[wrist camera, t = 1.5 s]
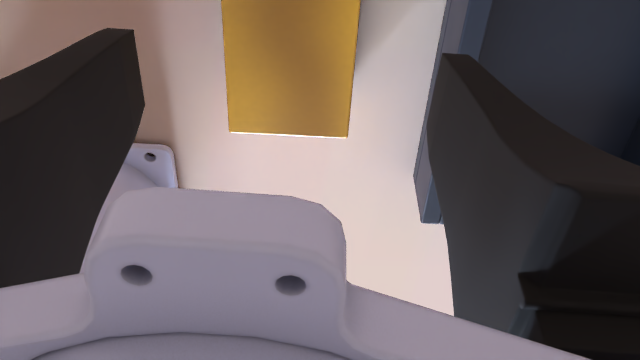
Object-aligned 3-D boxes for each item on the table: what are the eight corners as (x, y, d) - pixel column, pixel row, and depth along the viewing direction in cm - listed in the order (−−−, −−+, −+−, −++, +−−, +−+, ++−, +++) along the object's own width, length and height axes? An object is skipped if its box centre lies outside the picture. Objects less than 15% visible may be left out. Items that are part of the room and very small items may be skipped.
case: (412, 175, 28) (420, 224, 25) (496, -261, 17) (524, -254, 15) (613, 185, 28) (641, 234, 25) (815, -241, 17) (897, -231, 15)
